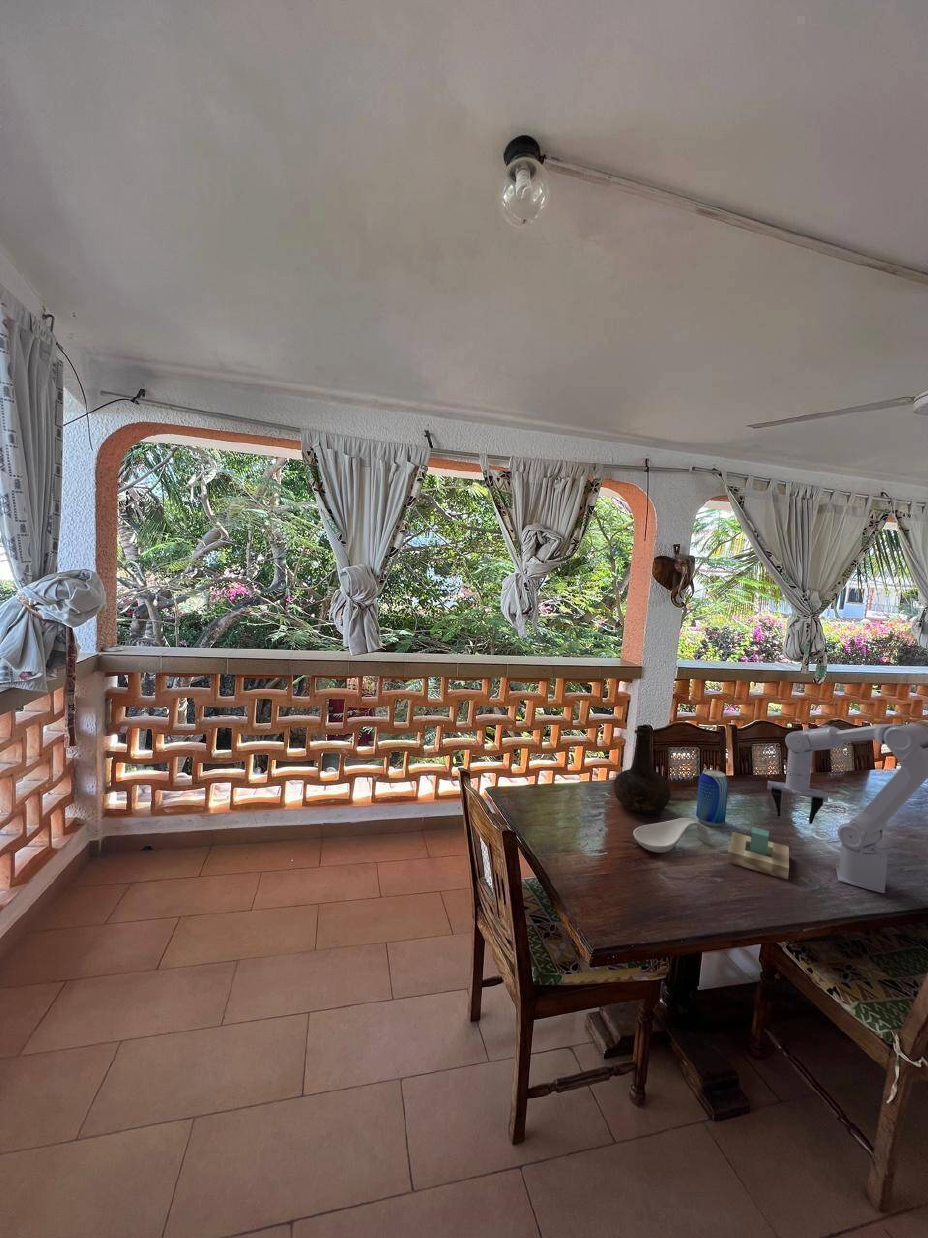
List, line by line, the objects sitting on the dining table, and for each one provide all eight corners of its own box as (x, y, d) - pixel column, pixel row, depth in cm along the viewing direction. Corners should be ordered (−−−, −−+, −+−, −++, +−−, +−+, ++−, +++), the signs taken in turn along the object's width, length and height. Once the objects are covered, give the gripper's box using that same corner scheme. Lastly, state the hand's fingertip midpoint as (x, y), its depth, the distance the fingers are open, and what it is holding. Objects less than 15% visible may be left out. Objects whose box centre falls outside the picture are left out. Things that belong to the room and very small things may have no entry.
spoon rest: (651, 861, 138) (652, 835, 138) (624, 840, 149) (625, 816, 149) (719, 851, 146) (721, 826, 145) (689, 831, 157) (691, 809, 157)
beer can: (690, 817, 167) (693, 769, 166) (709, 814, 170) (713, 767, 169) (710, 829, 159) (714, 778, 158) (731, 826, 162) (735, 776, 161)
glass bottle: (680, 816, 167) (687, 732, 165) (636, 823, 160) (642, 735, 159) (642, 795, 183) (648, 718, 182) (601, 800, 177) (606, 721, 175)
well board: (787, 856, 144) (788, 846, 144) (787, 879, 132) (788, 868, 132) (731, 841, 151) (732, 832, 151) (727, 862, 139) (728, 851, 139)
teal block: (766, 859, 142) (768, 831, 142) (766, 865, 139) (768, 836, 138) (749, 854, 144) (752, 827, 144) (749, 860, 141) (751, 832, 140)
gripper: (768, 770, 147) (764, 816, 147) (830, 782, 139) (826, 831, 140) (769, 764, 153) (765, 808, 153) (828, 775, 145) (824, 822, 146)
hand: (794, 819), depth 147 cm, fingers open, 7 cm apart
